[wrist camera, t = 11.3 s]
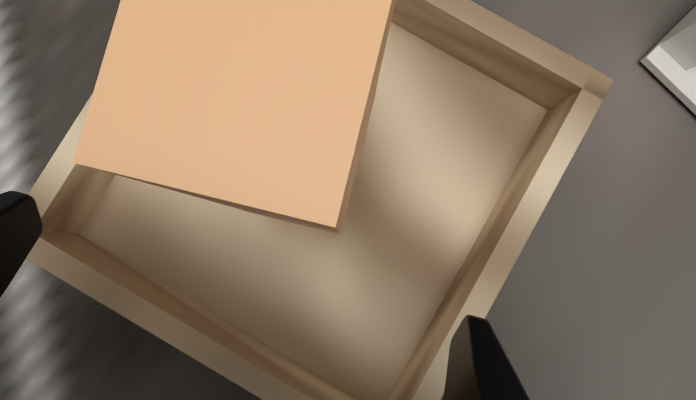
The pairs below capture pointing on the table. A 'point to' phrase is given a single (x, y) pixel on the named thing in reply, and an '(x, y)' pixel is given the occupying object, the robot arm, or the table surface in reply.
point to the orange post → (240, 101)
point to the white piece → (677, 60)
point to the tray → (345, 222)
